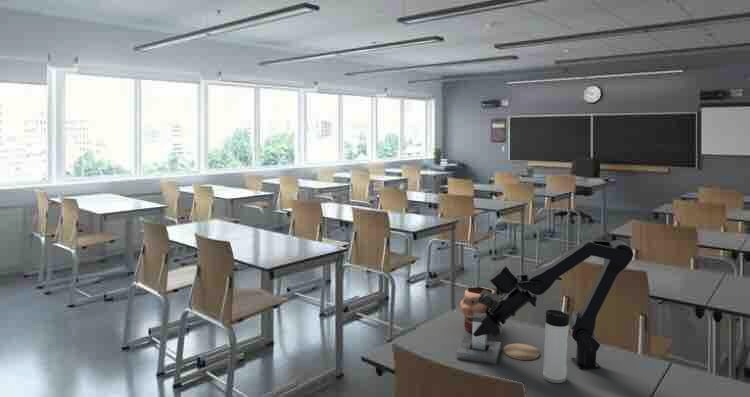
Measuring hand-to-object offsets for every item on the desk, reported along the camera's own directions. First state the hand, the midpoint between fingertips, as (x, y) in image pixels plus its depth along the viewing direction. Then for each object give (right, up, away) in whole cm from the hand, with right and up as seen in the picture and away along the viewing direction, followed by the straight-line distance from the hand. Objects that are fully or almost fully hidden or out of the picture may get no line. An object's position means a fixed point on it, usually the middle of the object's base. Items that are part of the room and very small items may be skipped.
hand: (475, 332), depth 170 cm
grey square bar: (+1, -7, +1) cm, 7 cm away
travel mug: (+20, -9, -16) cm, 27 cm away
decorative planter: (+6, -4, +22) cm, 23 cm away
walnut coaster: (+15, -6, +1) cm, 16 cm away
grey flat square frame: (+1, -7, +1) cm, 7 cm away
